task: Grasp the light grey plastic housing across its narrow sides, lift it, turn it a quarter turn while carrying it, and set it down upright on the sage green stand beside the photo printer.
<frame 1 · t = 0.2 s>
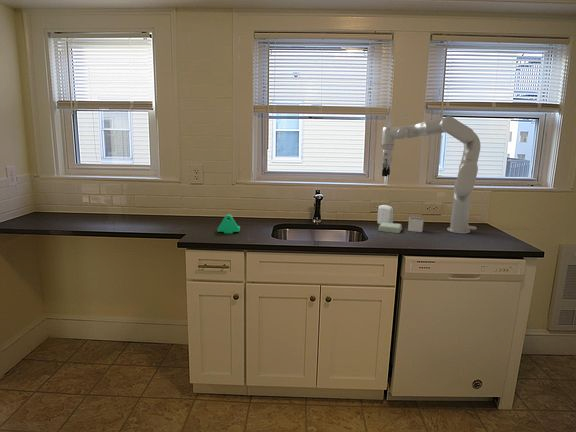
hand: (385, 175, 250), 31 cm above the worktop, tool pointing down, fingers open, 9 cm apart
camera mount: (228, 232, 231), on the worktop
stand: (390, 229, 242), on the worktop
housing: (415, 230, 241), on the worktop
photo printer: (384, 224, 256), on the worktop
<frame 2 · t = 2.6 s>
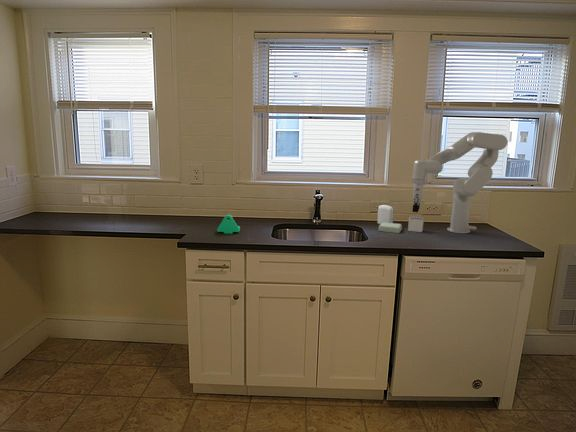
hand: (415, 210, 239), 12 cm above the worktop, tool pointing down, fingers open, 9 cm apart
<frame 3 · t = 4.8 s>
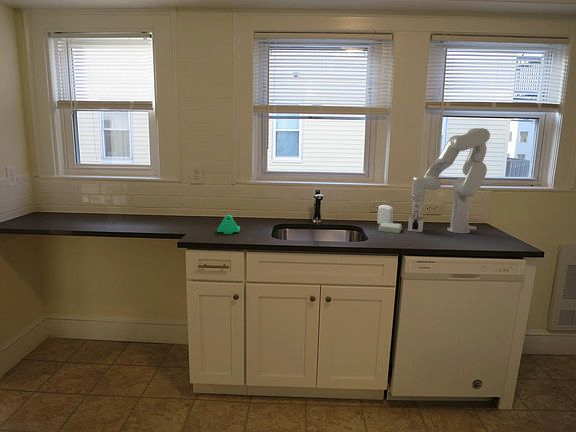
hand: (415, 228, 241), 1 cm above the worktop, tool pointing down, fingers closed on housing, 5 cm apart
housing: (415, 230, 241), on the worktop, touching gripper
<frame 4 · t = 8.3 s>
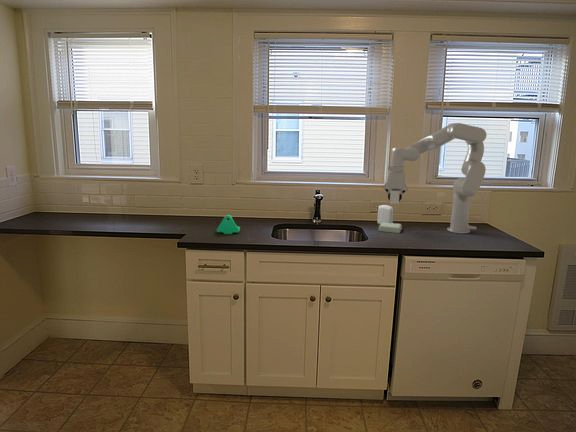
hand: (394, 200, 238), 18 cm above the worktop, tool pointing down, fingers closed on housing, 5 cm apart
housing: (394, 202, 238), point 16 cm above the worktop, touching gripper
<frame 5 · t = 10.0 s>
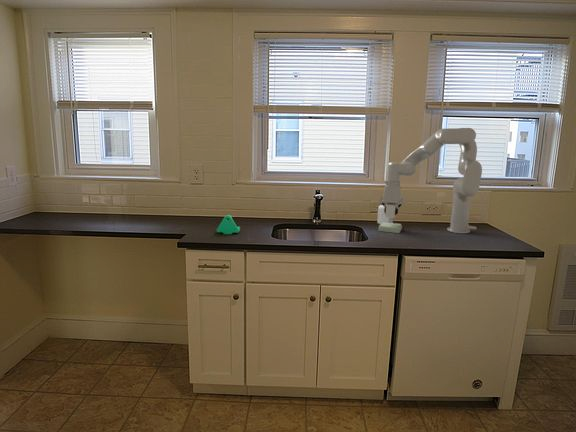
hand: (390, 214, 240), 10 cm above the worktop, tool pointing down, fingers closed on housing, 5 cm apart
housing: (390, 216, 240), point 8 cm above the worktop, touching gripper
when the fingers open (5 cm above the worktop, at t = 11.6 s): housing stays where it is, resting on stand.
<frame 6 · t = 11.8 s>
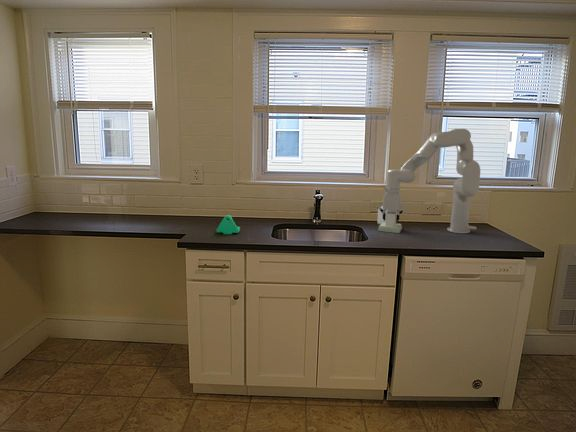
hand: (390, 220, 240), 6 cm above the worktop, tool pointing down, fingers open, 6 cm apart
housing: (390, 224, 241), point 3 cm above the worktop, touching stand
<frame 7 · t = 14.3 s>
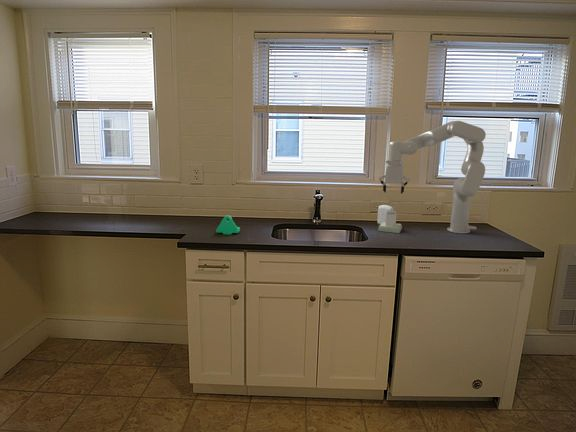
hand: (393, 192, 237), 22 cm above the worktop, tool pointing down, fingers open, 9 cm apart
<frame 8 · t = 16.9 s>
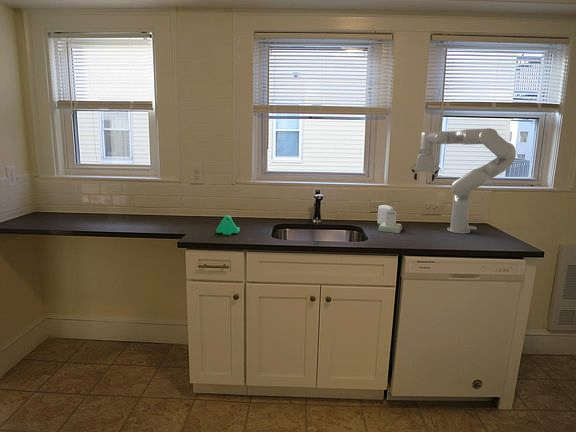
hand: (424, 180, 248), 28 cm above the worktop, tool pointing down, fingers open, 9 cm apart
at the end: housing inside the target area on the stand (0.1 cm from its centre), point 3.0 cm above the stand's base; housing tilted 0°; the gripper is holding nothing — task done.
